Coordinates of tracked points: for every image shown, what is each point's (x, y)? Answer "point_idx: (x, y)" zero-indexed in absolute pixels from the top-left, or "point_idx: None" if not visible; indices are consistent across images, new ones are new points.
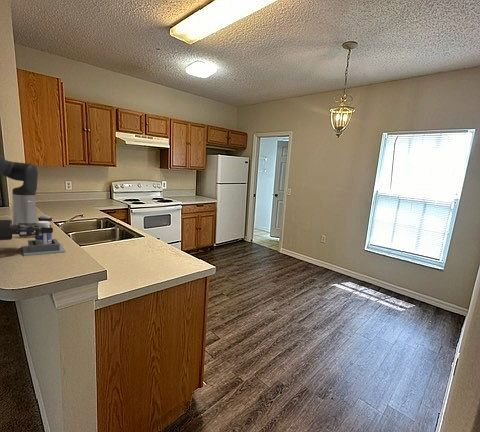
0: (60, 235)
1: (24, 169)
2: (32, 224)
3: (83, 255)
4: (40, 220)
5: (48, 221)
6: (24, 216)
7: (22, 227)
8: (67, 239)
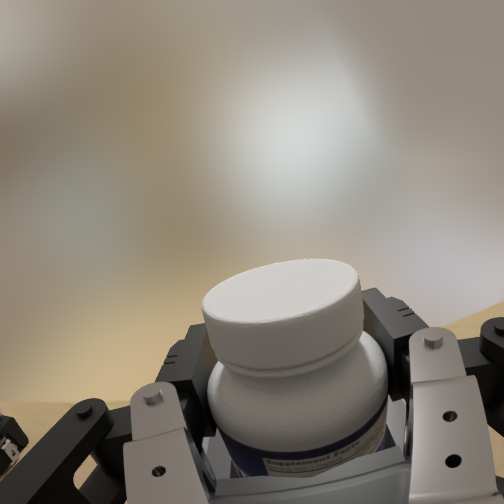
0: (35, 411)
1: None
2: (187, 435)
3: (454, 328)
4: None
5: (249, 271)
6: None
7: None
8: (116, 403)
